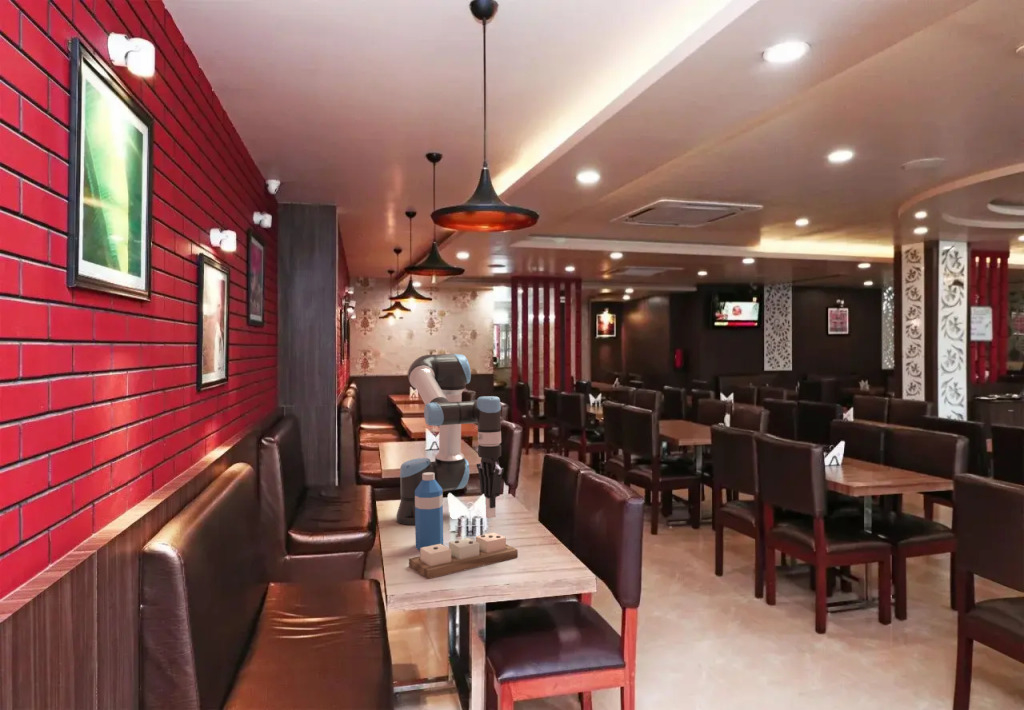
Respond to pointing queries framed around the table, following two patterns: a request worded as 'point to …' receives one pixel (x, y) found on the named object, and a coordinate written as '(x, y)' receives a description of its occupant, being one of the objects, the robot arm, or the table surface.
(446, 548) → the tile one
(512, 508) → the table surface
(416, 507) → the water bottle
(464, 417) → the robot arm
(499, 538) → the tile three
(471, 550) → the tile two
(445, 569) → the wooden dice tray
